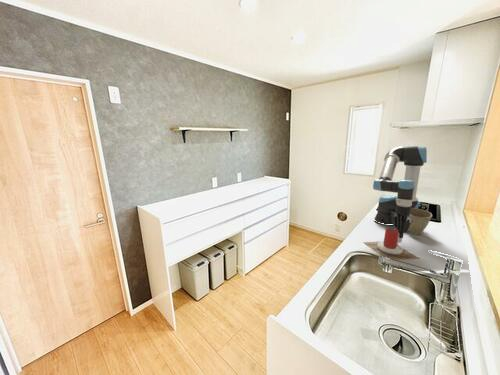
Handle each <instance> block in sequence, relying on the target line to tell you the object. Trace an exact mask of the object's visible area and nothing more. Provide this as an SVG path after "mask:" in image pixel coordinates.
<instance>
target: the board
mask: <svg viewBox="0 0 500 375" xmlns="http://www.w3.org/2000/svg"><path fill="white" fill-rule="evenodd" d="M379 242H380V241H364V242H362V243H363V244H364V245H365V246H367V247H368V248H370V249H371V250H373V252H376V253H377V254H378V255H379V256H381V257H382V256H383V257H382V258H384V257H387V258H390V259H393V260H392V261H394V260H397V261H398V260H400V261H401V260H421V258H420V257H418V256H417V255H415V254H414V253H411V252H410V251H408V250H407V249H405V248H403V247H401V246H400V247H401V248H402V249H403V253H402V254H401V255H392V254H388V253H385V252H382V251H380V250H379V249H378V248H377V243H379Z"/></svg>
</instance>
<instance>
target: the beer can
mask: <svg viewBox="0 0 500 375" xmlns="http://www.w3.org/2000/svg"><path fill="white" fill-rule="evenodd" d="M398 234H399V232H398V229H397V228H395V227H394V226H386V229H385V231H384V238H383V242H384V244H383V245H384V246H385V247H387V248H390V249H395V248H396V247H397V245H398V244H397V240H398Z"/></svg>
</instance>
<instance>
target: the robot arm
mask: <svg viewBox="0 0 500 375" xmlns="http://www.w3.org/2000/svg"><path fill="white" fill-rule="evenodd" d="M427 152H428V151H427V147H426V146H417V145H415V146H414V145H413V146H409V145H408V146H397V147H395V148H392V149H391V150H390V151H388V152H387V153H386V155H385V156H384V159H383V161H384V163H383V166H382V170H381V171H380V174H379V177H378V178H375V179H374V180H373V184H372V189H373V190H374V191H379V192H388V193H396V194H397V196H395V195H383V196H380V197H379V199H378V206H377V212H376V215H375V217H374V219H375V220H376V221H377V222H380V223H384V224H394V225H393V227H395V228H397V229H398V232H399V234H398V240H397V243H398V244H400V243H401V244H402V243H403V242H402V241H403V238H404V234H408V232H409V226H410V224H411V222H412V221H413V220H412V219H410V218H409V213H410V212H411V208H416V209H419V207H420V203H421V202H420V201H419V199H418V198H417V191H418V184H419V178H420V172H421V167H423V166H424V164H425V163H427V159H428V157H427V156H428V155H427V154H428V153H427ZM398 163H403V166H405V169H404V170H405V172H404V179H400V180H393V179H394V178H393V177H394V174H395V170H396V168H397V165H398Z"/></svg>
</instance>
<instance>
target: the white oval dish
mask: <svg viewBox="0 0 500 375" xmlns="http://www.w3.org/2000/svg"><path fill="white" fill-rule="evenodd" d="M378 242H379V243H377V248H378V249H379V250H380V251H382V252H385V253H388V254H392V255H401V254H402V253H403V249H404V248H403V247H402V248H403V249H402V248H401V246H399V245H398V244H399V243H397V247H396V248H395V249H390V248H387V247H385V246H384V245H383V244H384V241H378Z"/></svg>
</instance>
